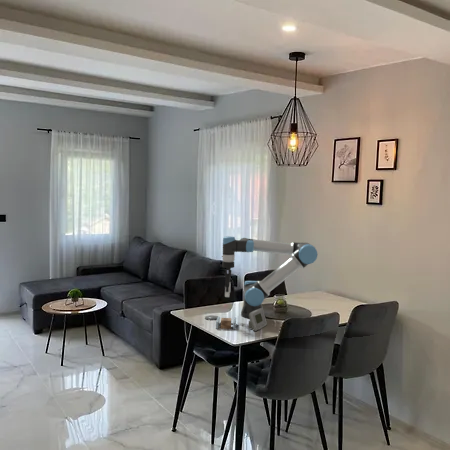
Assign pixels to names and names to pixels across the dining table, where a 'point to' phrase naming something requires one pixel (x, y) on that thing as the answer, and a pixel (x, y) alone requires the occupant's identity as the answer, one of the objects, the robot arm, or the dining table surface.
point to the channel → (231, 323)
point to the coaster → (211, 317)
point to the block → (225, 323)
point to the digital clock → (257, 319)
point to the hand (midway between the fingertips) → (227, 294)
